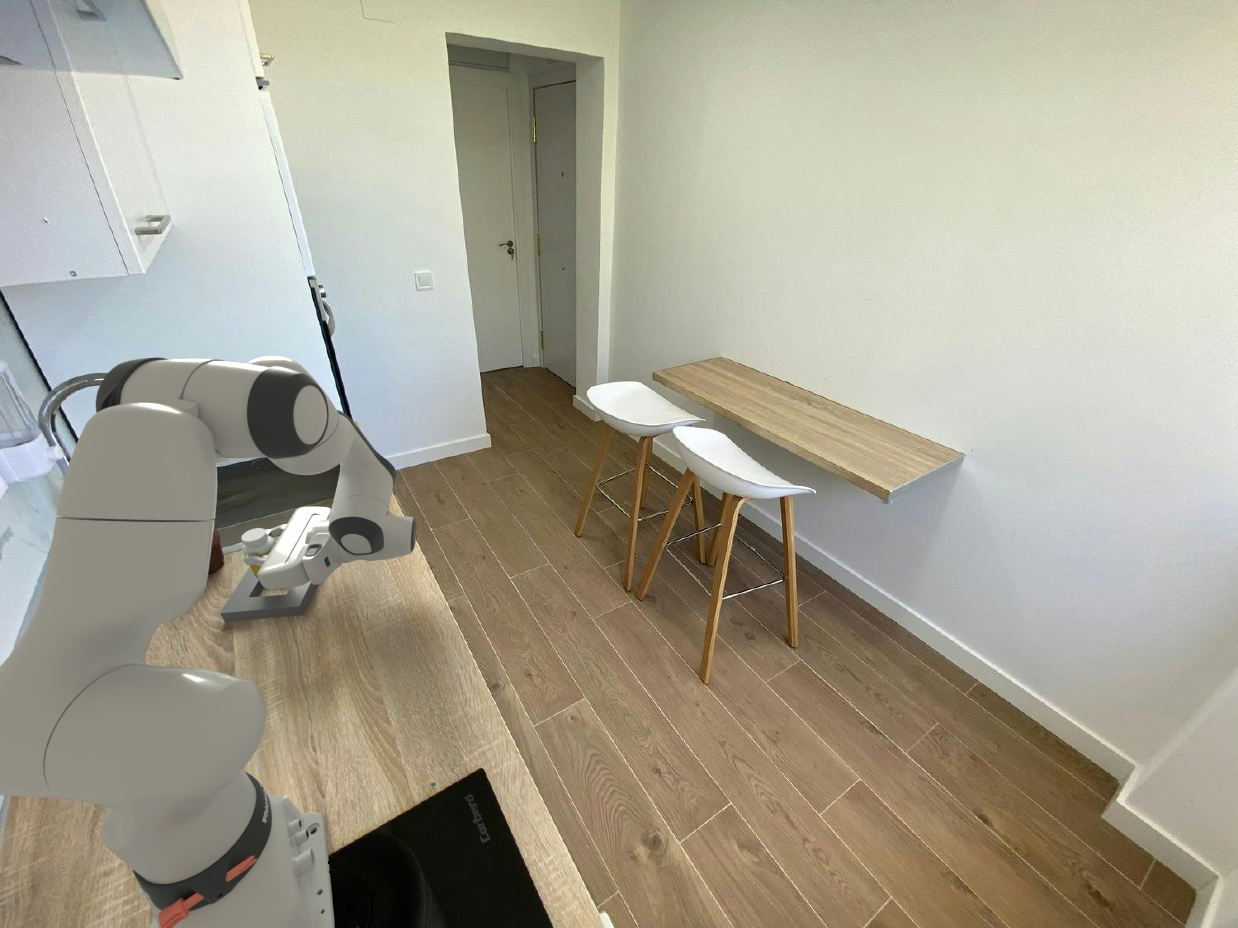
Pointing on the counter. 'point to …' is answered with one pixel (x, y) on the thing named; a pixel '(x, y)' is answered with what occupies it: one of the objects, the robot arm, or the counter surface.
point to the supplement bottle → (257, 545)
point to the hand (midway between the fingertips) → (254, 547)
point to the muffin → (215, 554)
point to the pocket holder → (265, 601)
